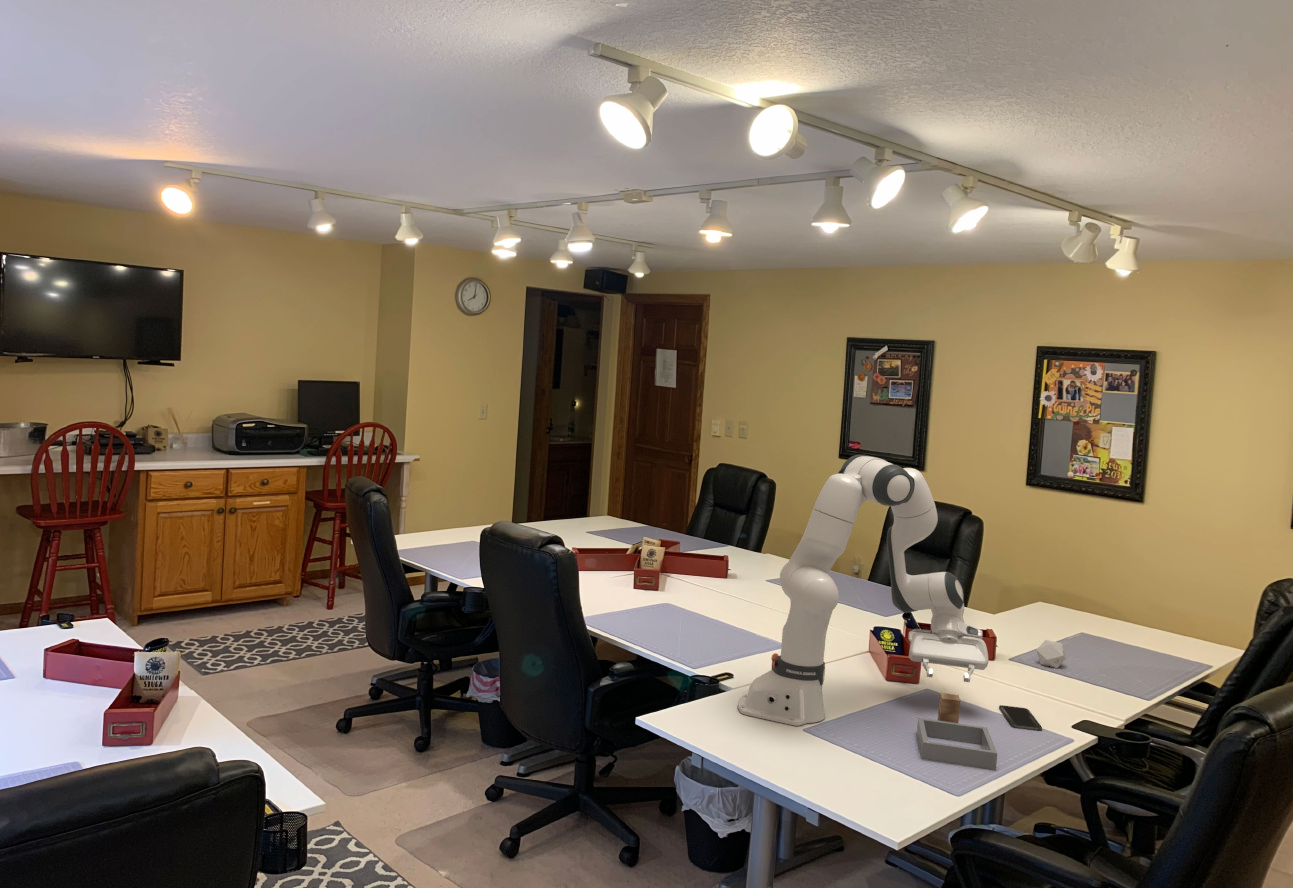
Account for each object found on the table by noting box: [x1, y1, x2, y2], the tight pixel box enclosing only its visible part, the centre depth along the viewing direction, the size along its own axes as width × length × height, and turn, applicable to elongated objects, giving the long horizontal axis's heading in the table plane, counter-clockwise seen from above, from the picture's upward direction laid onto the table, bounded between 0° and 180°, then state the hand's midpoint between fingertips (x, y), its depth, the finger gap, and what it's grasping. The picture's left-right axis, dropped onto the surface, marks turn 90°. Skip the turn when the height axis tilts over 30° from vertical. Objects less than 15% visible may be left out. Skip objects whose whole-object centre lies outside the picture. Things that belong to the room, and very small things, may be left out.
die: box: [1035, 639, 1067, 669], centre depth 296 cm, size 8×9×10 cm
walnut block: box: [937, 692, 961, 723], centre depth 235 cm, size 4×4×8 cm
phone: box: [998, 704, 1043, 732], centre depth 245 cm, size 8×1×15 cm
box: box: [916, 717, 998, 771], centre depth 220 cm, size 16×16×4 cm
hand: (948, 678), depth 241 cm, fingers open, 8 cm apart
